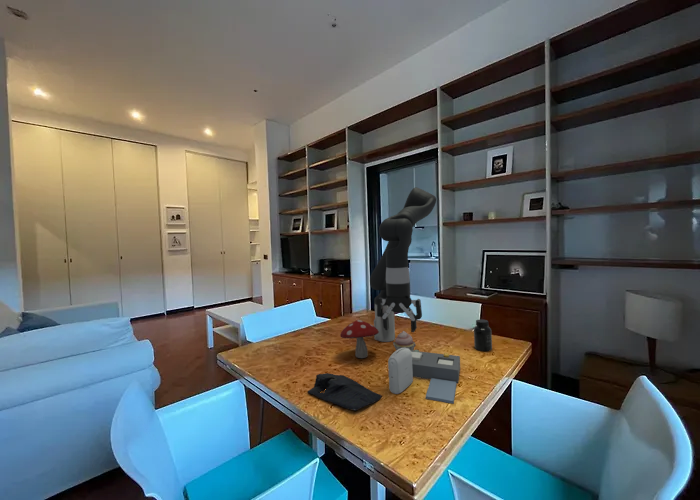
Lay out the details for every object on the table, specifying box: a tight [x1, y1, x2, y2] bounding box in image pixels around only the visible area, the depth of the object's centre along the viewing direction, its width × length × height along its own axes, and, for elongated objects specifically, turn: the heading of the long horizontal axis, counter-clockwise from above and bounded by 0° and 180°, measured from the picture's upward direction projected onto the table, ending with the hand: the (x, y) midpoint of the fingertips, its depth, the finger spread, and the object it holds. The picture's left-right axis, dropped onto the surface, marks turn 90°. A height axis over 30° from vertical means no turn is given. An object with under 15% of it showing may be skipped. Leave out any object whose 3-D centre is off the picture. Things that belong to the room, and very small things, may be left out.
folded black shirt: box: [307, 372, 383, 411], centre depth 93 cm, size 15×22×5 cm
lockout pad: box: [425, 378, 457, 404], centre depth 92 cm, size 8×12×1 cm, turn 156°
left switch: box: [411, 351, 422, 361], centre depth 108 cm, size 5×5×2 cm
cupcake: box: [392, 330, 417, 351], centre depth 121 cm, size 9×9×10 cm
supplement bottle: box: [473, 319, 493, 352], centre depth 124 cm, size 7×7×12 cm
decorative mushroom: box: [339, 319, 379, 359], centre depth 122 cm, size 16×16×15 cm
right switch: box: [438, 359, 453, 365], centre depth 103 cm, size 5×5×2 cm
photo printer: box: [387, 348, 414, 395], centre depth 95 cm, size 10×4×12 cm, turn 140°
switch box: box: [410, 349, 461, 385], centre depth 105 cm, size 20×12×5 cm, turn 66°
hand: (399, 330), depth 95 cm, fingers open, 8 cm apart
